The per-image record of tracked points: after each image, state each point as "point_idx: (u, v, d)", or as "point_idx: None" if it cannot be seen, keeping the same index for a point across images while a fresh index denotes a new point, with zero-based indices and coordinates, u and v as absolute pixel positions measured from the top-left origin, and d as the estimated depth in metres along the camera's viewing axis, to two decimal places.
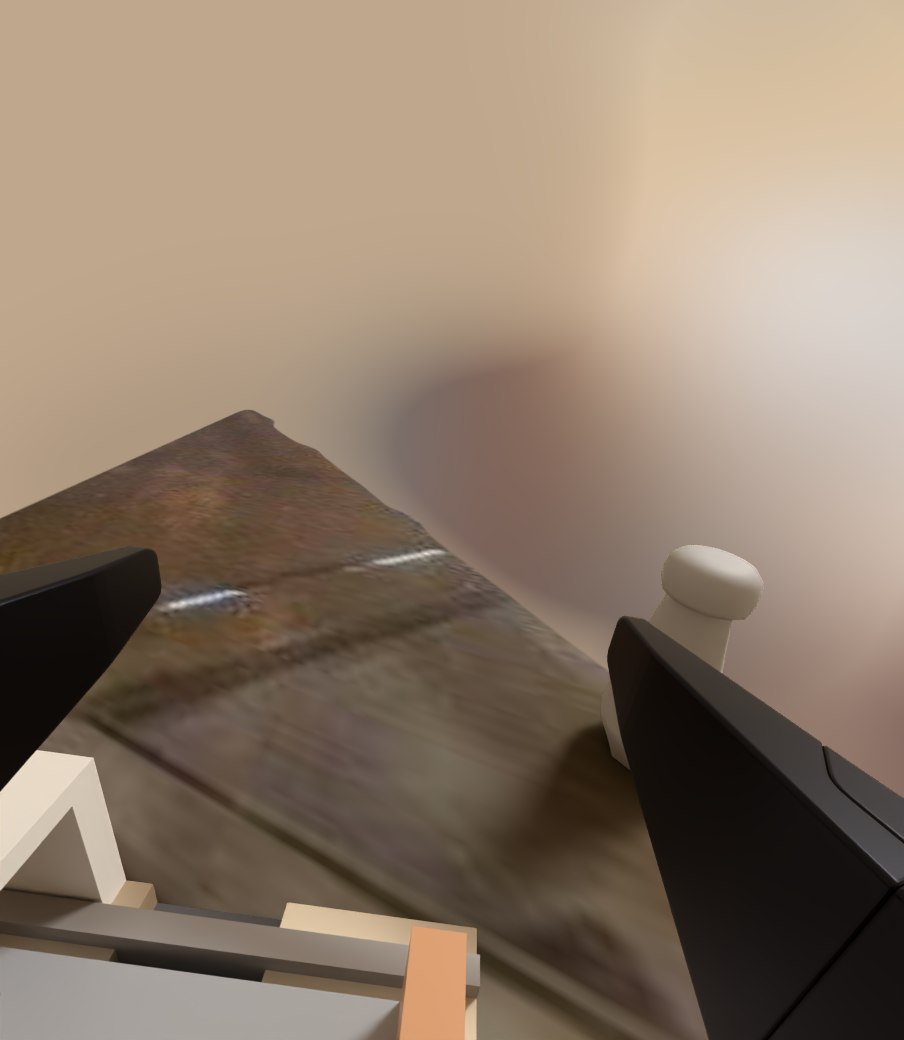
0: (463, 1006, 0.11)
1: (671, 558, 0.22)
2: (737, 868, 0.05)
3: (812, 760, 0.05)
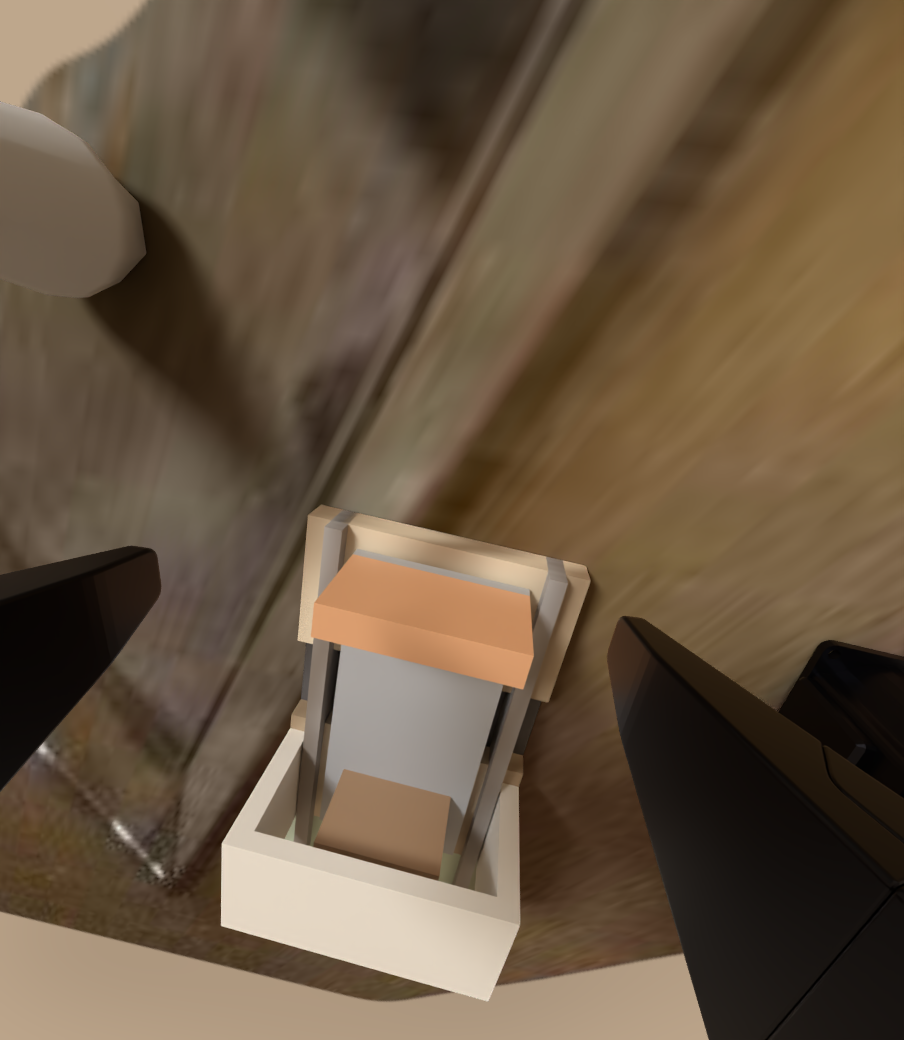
0: (353, 612, 0.16)
1: None
2: (737, 868, 0.05)
3: (812, 760, 0.05)
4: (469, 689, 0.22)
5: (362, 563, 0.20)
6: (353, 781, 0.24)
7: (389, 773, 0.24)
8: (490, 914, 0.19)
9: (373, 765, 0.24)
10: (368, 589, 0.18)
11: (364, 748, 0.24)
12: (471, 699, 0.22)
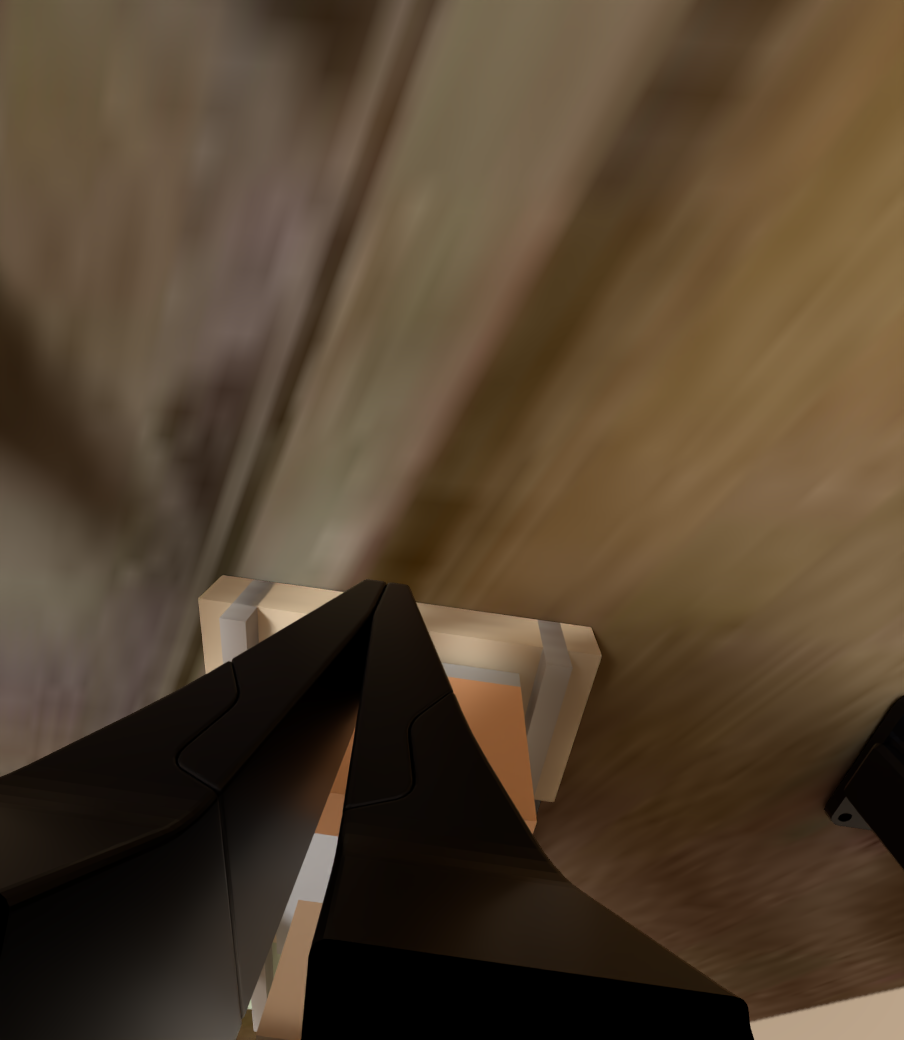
0: None
1: None
2: None
3: (414, 704, 0.05)
4: None
5: None
6: (311, 918, 0.19)
7: None
8: None
9: None
10: None
11: (321, 876, 0.18)
12: None
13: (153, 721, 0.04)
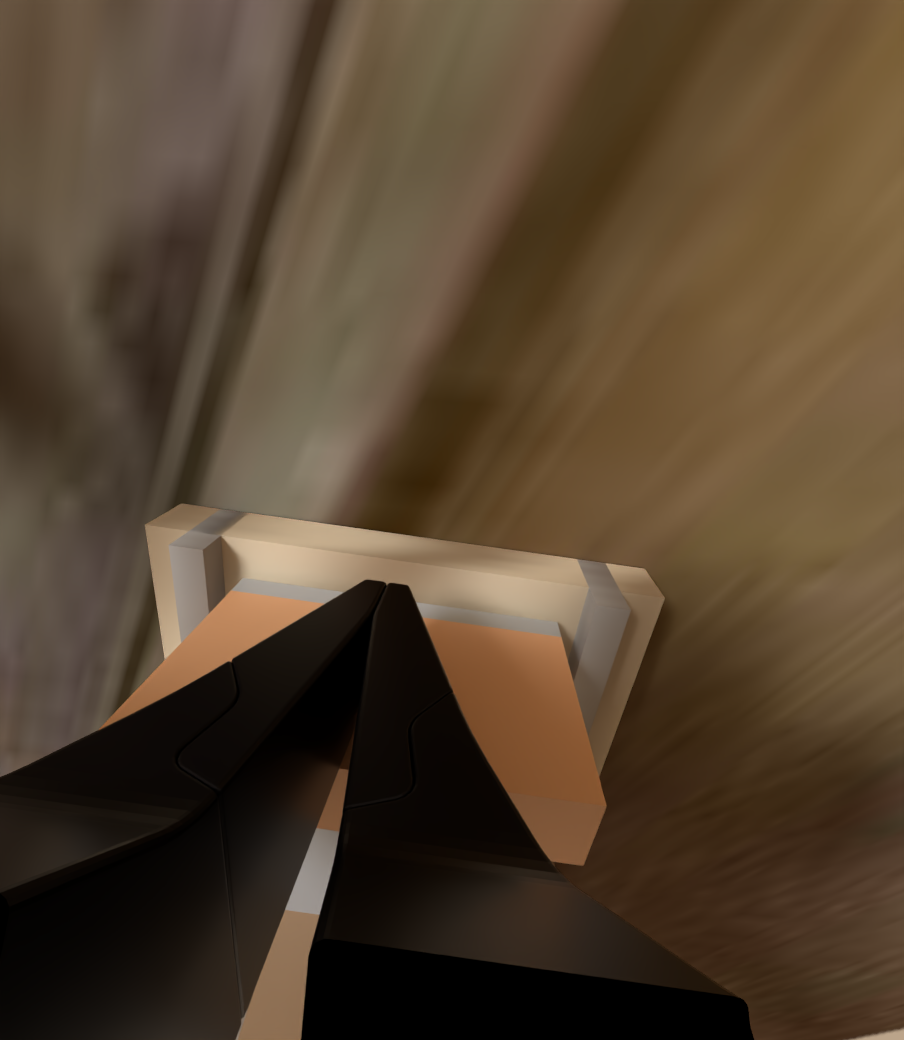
0: None
1: None
2: None
3: (414, 703, 0.05)
4: None
5: (245, 608, 0.10)
6: (296, 932, 0.15)
7: None
8: None
9: None
10: None
11: (308, 881, 0.15)
12: None
13: (153, 721, 0.04)
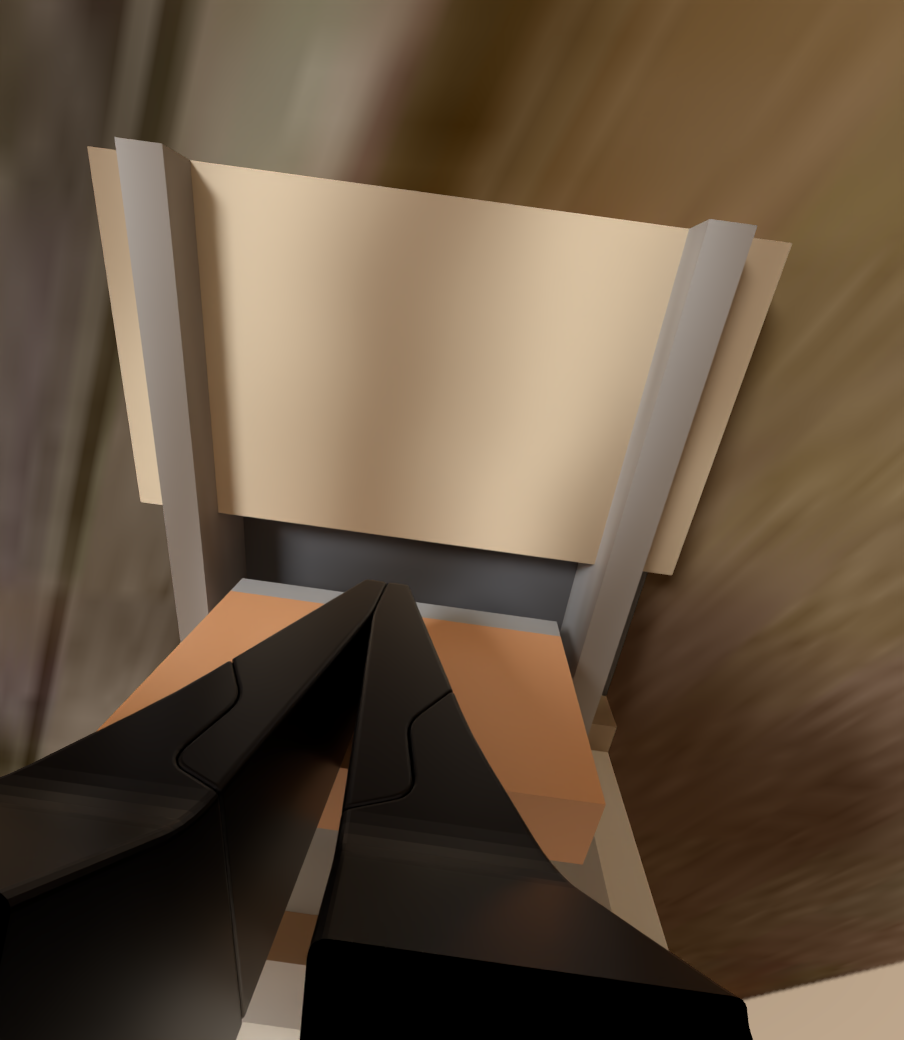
0: None
1: None
2: None
3: (414, 704, 0.05)
4: None
5: (244, 608, 0.10)
6: (297, 933, 0.15)
7: None
8: None
9: None
10: None
11: (308, 882, 0.15)
12: None
13: (154, 721, 0.04)
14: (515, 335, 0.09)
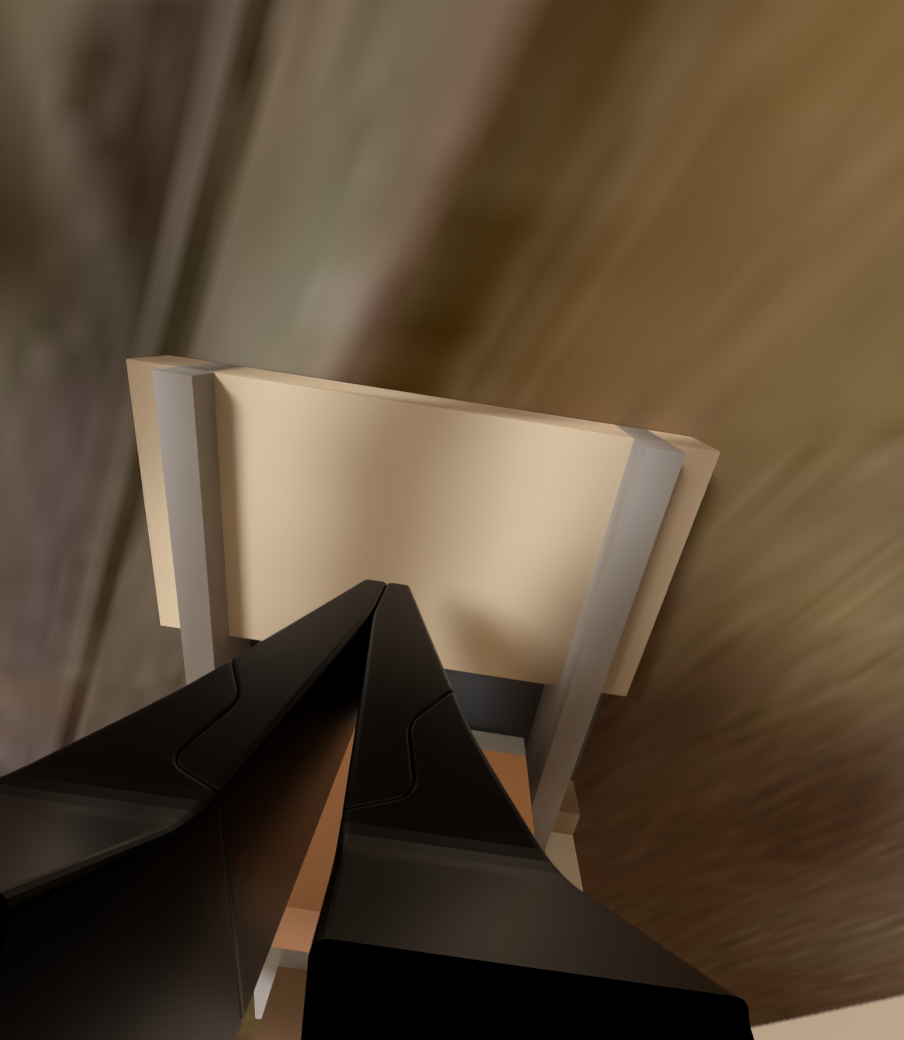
0: None
1: None
2: None
3: (414, 704, 0.05)
4: None
5: None
6: (291, 988, 0.17)
7: None
8: None
9: None
10: None
11: None
12: None
13: (153, 721, 0.04)
14: (489, 510, 0.11)
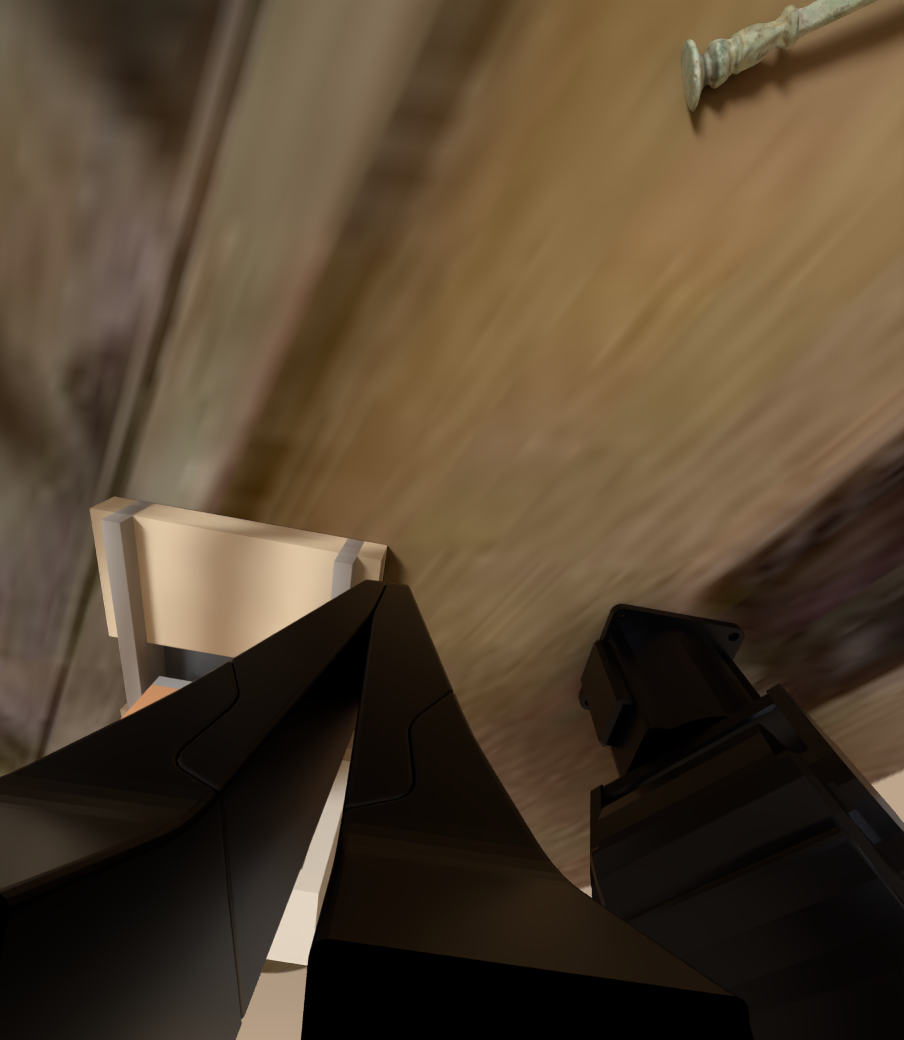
0: None
1: None
2: None
3: (414, 703, 0.05)
4: None
5: (156, 695, 0.22)
6: None
7: None
8: None
9: None
10: None
11: None
12: None
13: (153, 721, 0.04)
14: (275, 583, 0.21)
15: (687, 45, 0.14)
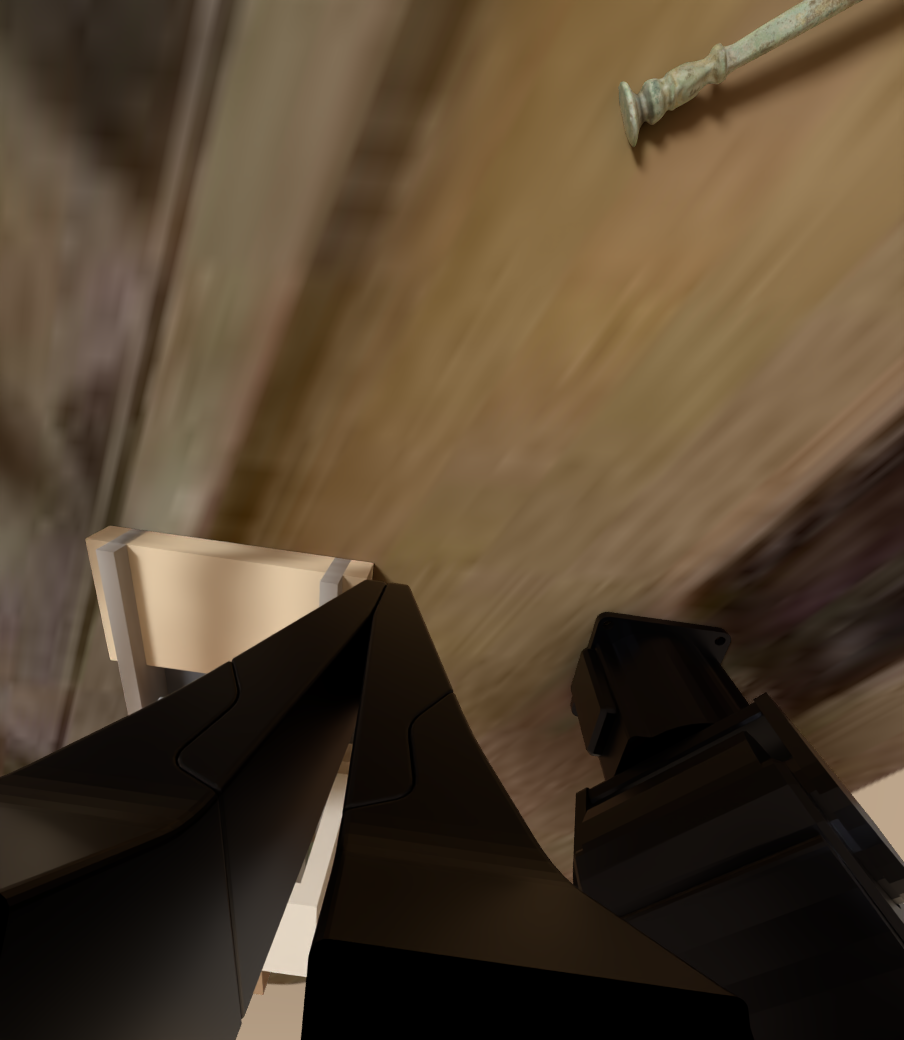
0: None
1: None
2: None
3: (414, 703, 0.05)
4: None
5: None
6: None
7: None
8: (289, 900, 0.20)
9: None
10: None
11: None
12: None
13: (153, 721, 0.04)
14: (266, 603, 0.22)
15: (621, 87, 0.14)
